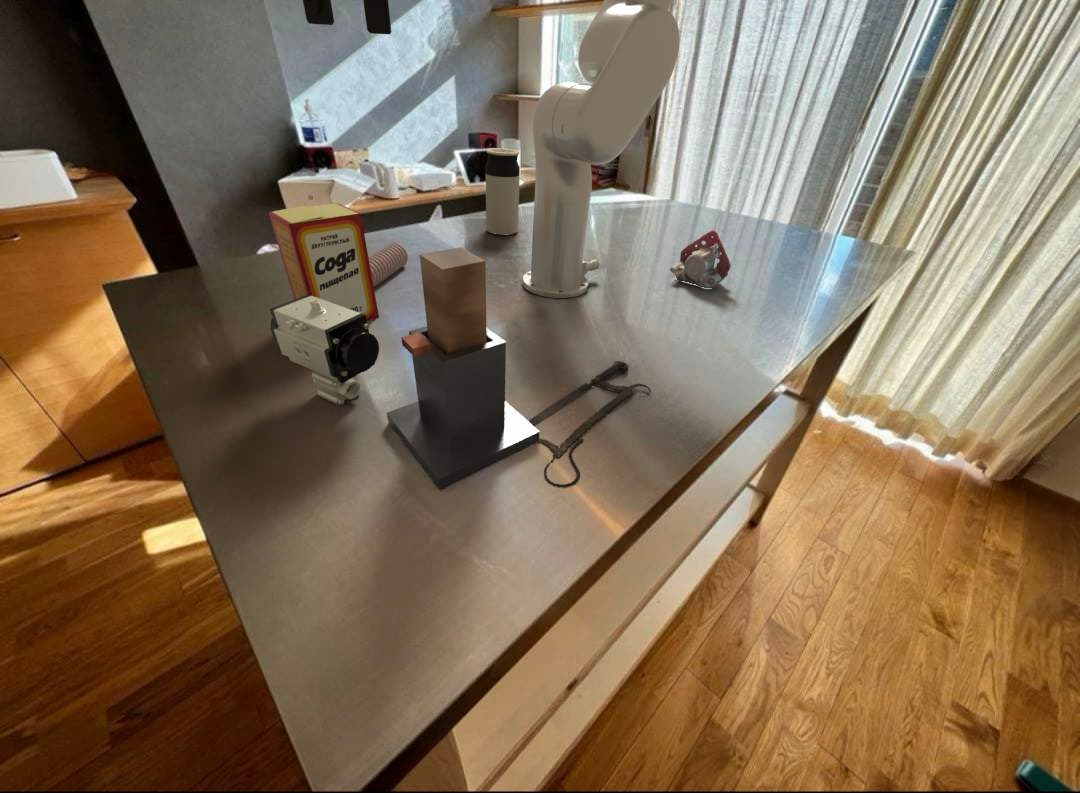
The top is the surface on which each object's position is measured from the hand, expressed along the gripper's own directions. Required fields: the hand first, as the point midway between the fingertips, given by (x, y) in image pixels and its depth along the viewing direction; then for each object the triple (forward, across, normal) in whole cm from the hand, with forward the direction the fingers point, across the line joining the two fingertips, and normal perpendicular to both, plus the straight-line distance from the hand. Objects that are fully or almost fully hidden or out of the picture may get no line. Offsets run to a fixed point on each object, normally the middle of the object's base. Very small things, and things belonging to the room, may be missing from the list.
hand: (352, 29), depth 50 cm
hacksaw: (+36, -12, -38) cm, 54 cm away
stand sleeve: (+35, -22, -25) cm, 48 cm away
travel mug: (+35, +49, +4) cm, 61 cm away
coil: (+36, +9, +10) cm, 38 cm away
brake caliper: (+35, +39, -45) cm, 69 cm away
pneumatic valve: (+36, -23, -9) cm, 43 cm away
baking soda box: (+36, -6, +5) cm, 36 cm away
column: (+33, -22, -25) cm, 47 cm away
